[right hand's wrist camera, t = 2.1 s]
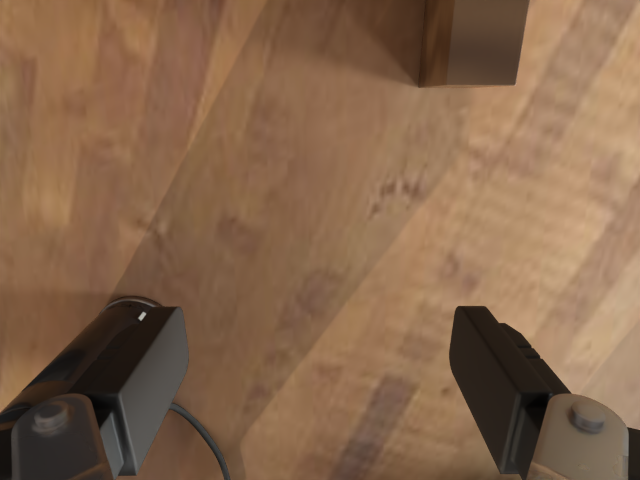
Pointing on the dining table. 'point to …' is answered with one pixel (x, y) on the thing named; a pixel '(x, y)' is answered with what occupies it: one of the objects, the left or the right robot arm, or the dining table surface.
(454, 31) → the bar
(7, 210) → the dining table surface
